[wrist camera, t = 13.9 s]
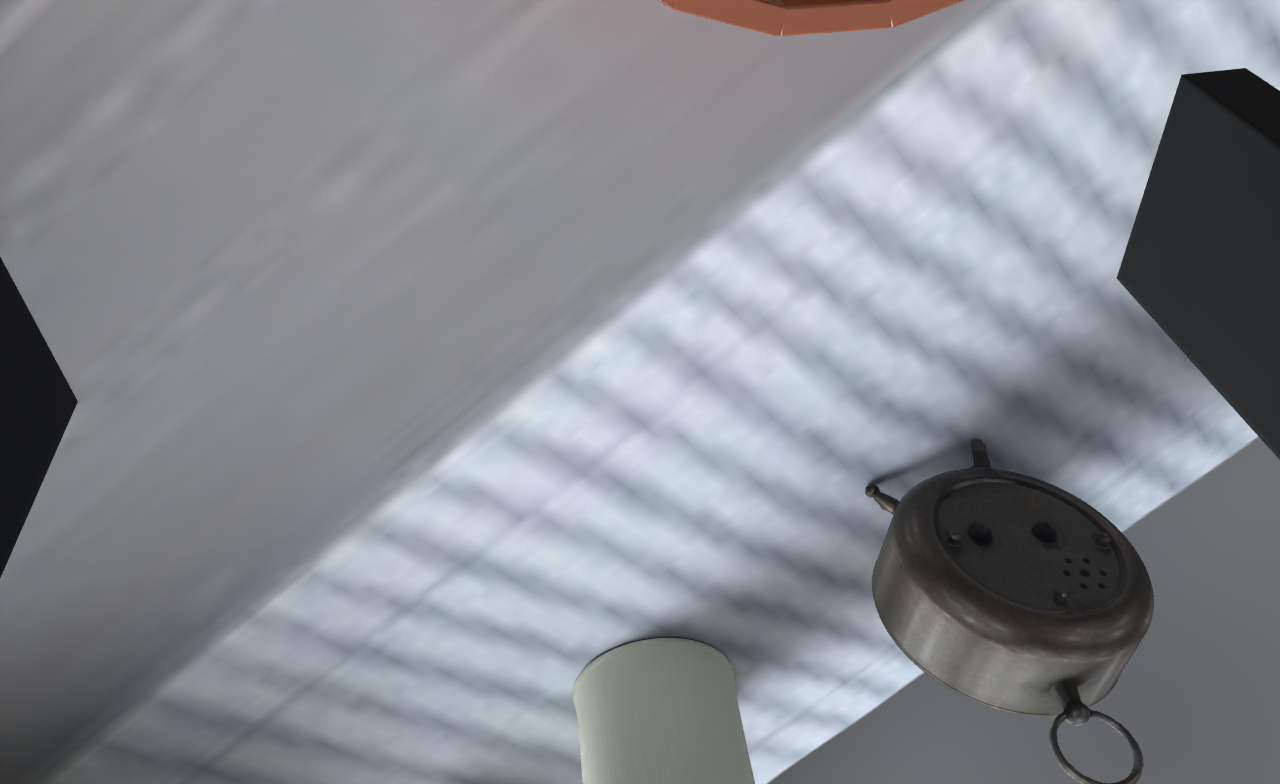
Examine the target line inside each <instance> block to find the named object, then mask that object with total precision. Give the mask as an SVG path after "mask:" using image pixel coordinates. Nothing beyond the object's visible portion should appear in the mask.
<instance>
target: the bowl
mask: <svg viewBox="0 0 1280 784" xmlns="http://www.w3.org/2000/svg"><path fill="white" fill-rule="evenodd" d="M658 1H660V2H661V3H663V4H664V5H666V6H667V7H671V8H672V9H673V10H677V11H681V12H685V13H688V14H692V15H696V16H700V17H704V18H708V19H712V20H716V21H720V22H724V23H727V24H731V25H735V26H739V27H743V28H747V29H751V30H755V31H759V32H763V33H766V34H770V35H774V36H779V35H781V36H790V35H803V34H817V33H830V32H843V31H856V30H870V29H883V28H890V27H892V28H894V27H896V26H899V25H902V24H904V23H907V22H909V21H912V20H914V19H917V18H920V17H922V16H925V15H927V14H930V13H932V12H935V11H938V10H940V9H943V8H945V7H948V6H950V5H953V4H956V3H958V2H961V1H963V0H658Z"/></svg>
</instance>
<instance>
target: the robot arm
mask: <svg viewBox="0 0 1280 784" xmlns="http://www.w3.org/2000/svg"><path fill="white" fill-rule="evenodd" d="M1117 279H1118V280H1119V281H1120V283H1121V284H1122V285H1123V286H1124V287H1125V288H1126V289H1127V290H1128V291H1129V293H1130V294H1131V295H1132V296H1133V297H1134V298H1135V299H1136V300H1137V302H1138V303H1139V304H1140V305H1141V306H1142V307H1143V308H1144V309H1145V310H1146V312H1147V313H1148V314H1149V315H1150V316H1151V317H1152V318H1153V319H1154V320H1155V322H1156V323H1157V324H1158V325H1159V326H1160V327H1161V328H1162V329H1163V330H1164V332H1165V333H1166V334H1167V335H1168V336H1169V337H1170V338H1171V339H1172V340H1173V342H1174V343H1175V344H1176V345H1177V346H1178V347H1179V348H1180V349H1181V350H1182V352H1183V353H1184V354H1185V355H1186V356H1187V357H1188V358H1189V359H1190V360H1191V362H1192V363H1193V364H1194V365H1195V366H1196V367H1197V368H1198V369H1199V370H1200V372H1201V373H1202V374H1203V375H1204V376H1205V377H1206V378H1207V379H1208V380H1209V382H1210V383H1211V384H1212V385H1213V386H1214V387H1215V388H1216V389H1217V390H1218V392H1219V393H1220V394H1221V395H1222V396H1223V397H1224V398H1225V399H1226V400H1227V402H1228V403H1229V404H1230V405H1231V406H1232V407H1233V408H1234V409H1235V410H1236V412H1237V413H1238V414H1239V415H1240V416H1241V417H1242V418H1243V419H1244V421H1245V422H1246V423H1247V424H1248V425H1249V426H1250V427H1251V428H1252V429H1253V431H1254V432H1255V433H1256V434H1257V435H1258V436H1259V437H1260V438H1261V439H1262V440H1263V441H1264V443H1265V444H1266V445H1267V446H1268V447H1269V448H1270V449H1271V450H1272V451H1273V453H1274V454H1275V455H1276V456H1277V457H1278V458H1279V459H1280V91H1279V90H1278V89H1276V88H1275V87H1273V86H1272V85H1270V84H1269V83H1267V82H1266V81H1264V80H1263V79H1261V78H1260V77H1258V76H1257V75H1255V74H1254V73H1252V72H1251V71H1249V70H1248V69H1246V68H1243V69H1233V70H1223V71H1214V72H1204V73H1194V74H1184V75H1181V78H1180V82H1179V85H1178V88H1177V91H1176V94H1175V97H1174V100H1173V103H1172V107H1171V110H1170V113H1169V116H1168V119H1167V122H1166V125H1165V129H1164V132H1163V135H1162V138H1161V141H1160V144H1159V147H1158V150H1157V154H1156V157H1155V160H1154V163H1153V166H1152V169H1151V172H1150V176H1149V179H1148V182H1147V185H1146V188H1145V191H1144V194H1143V197H1142V201H1141V204H1140V207H1139V210H1138V213H1137V216H1136V219H1135V223H1134V226H1133V229H1132V232H1131V235H1130V238H1129V241H1128V244H1127V248H1126V251H1125V254H1124V257H1123V260H1122V263H1121V266H1120V269H1119V273H1118V276H1117ZM77 402H78V401H77V399H76V397H75V395H74V393H73V392H72V390H71V388H70V386H69V384H68V382H67V380H66V378H65V377H64V375H63V373H62V371H61V369H60V367H59V365H58V364H57V362H56V360H55V358H54V356H53V354H52V352H51V351H50V349H49V347H48V345H47V343H46V341H45V339H44V337H43V336H42V334H41V332H40V330H39V328H38V326H37V324H36V323H35V321H34V319H33V317H32V315H31V313H30V311H29V310H28V308H27V306H26V304H25V302H24V300H23V298H22V296H21V295H20V293H19V291H18V289H17V287H16V285H15V283H14V282H13V280H12V278H11V276H10V274H9V272H8V270H7V268H6V267H5V265H4V263H3V261H2V259H1V257H0V577H1V575H2V573H3V571H4V568H5V566H6V564H7V562H8V559H9V557H10V555H11V552H12V550H13V548H14V546H15V543H16V541H17V539H18V536H19V534H20V532H21V530H22V527H23V525H24V523H25V521H26V518H27V516H28V514H29V511H30V509H31V507H32V505H33V502H34V500H35V498H36V495H37V493H38V491H39V489H40V486H41V484H42V482H43V480H44V477H45V475H46V473H47V470H48V468H49V466H50V464H51V461H52V459H53V457H54V455H55V452H56V450H57V448H58V445H59V443H60V441H61V439H62V436H63V434H64V432H65V429H66V427H67V425H68V423H69V420H70V418H71V416H72V414H73V411H74V409H75V407H76V404H77Z"/></svg>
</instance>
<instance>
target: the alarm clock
mask: <svg viewBox="0 0 1280 784" xmlns="http://www.w3.org/2000/svg"><path fill="white" fill-rule="evenodd" d="M971 448H972V453H973V459H974V466H973V467H971V468H969V469H961V470H954V471H949V472H945V473H941V474H938V475H936V476H933V477H931V478H928V479H926V480H924V481H923V482H921V483H919V484H918V485H916V486H915V487H914V488H912V489H911V490H910V491H909V492H908V493H907V494H906V495H905V496H904V497H903V498H902V499H901V501H898V500H897V499H895V498H893V497H891V496H889V495H886V494H884V493H881V492H880V490H879V488H878V487H877V486H876V485H874V484H869V485H868V486H867V487H866V492H865V493H866V495H867V496H868V497H873V498H874V499H875V501H876V502H877V503H878V504H879V505H880V506H881V508H882V509H884V510H886V511H888V512H890V513H892V514H893V518H892V521H891V523H890V526H889V529H888V531H887V534H886V537H885V540H884V543H883V545H882V548H881V551H880V553H879V556H878V559H877V560H876V563H875V567H874V570H873V575H872V590H873V597H874V601H875V605H876V608H877V611H878V613H879V616H880V619H881V621H882V623H883V625H884V626H885V628H886V630H887V632H888V633H889V634H890V636H891V637H892V639H893V640H894V642H895V643H896V644H897V646H898V647H899V648H900V649H901V650H902V651H903V652H904V654H905V655H906V656H907V657H908V658H909V659H910V660H911V661H913V662H914V663H915V664H916V665H917V666H918V667H919V668H920V669H922V670H923V671H924V672H925V673H926V674H928V675H929V676H931V677H932V678H934V679H935V680H936V681H938V682H939V683H941V684H942V685H944V686H945V687H947V688H949V689H950V690H952V691H954V692H956V693H958V694H960V695H962V696H964V697H966V698H968V699H970V700H972V701H975V702H977V703H979V704H982V705H985V706H988V707H990V708H993V709H997V710H1000V711H1004V712H1008V713H1013V714H1019V715H1027V716H1039V717H1046V716H1050V717H1053V716H1057V717H1056V719H1055V720H1054V722H1053V725H1052V728H1051V730H1050V735H1049V739H1050V744H1051V749H1052V752H1053V754H1054V757H1055V758H1056V760H1057V762H1058V763H1059V765H1060V766H1061V767H1062V768H1063V770H1064V771H1065V772H1066V773H1067V774H1068V775H1070V776H1071V777H1072V778H1074V779H1075V780H1076V781H1078V782H1079V783H1081V784H1109V783H1101V782H1098V781H1095V780H1093V779H1091V778H1089V777H1086V776H1084V775H1082V774H1081V773H1079V772H1078V771H1077V770H1076V769H1075V768H1074V767H1073V766H1072V765H1071V764H1070V763H1068V762H1067V760H1066V759H1065V758H1064V756H1063V754H1062V753H1061V751H1060V749H1059V746H1058V742H1057V730H1058V728H1059V726H1060V724H1061V723H1062V722H1063V721H1064V720H1066V721H1067V722H1068V723H1070V724H1071V725H1075V726H1080V725H1083V724H1085V723H1086V722H1087V721H1088V719H1089V717H1093V718H1096V719H1099V720H1102V721H1104V722H1105V723H1107V724H1109V725H1111V726H1112V727H1113V728H1115V729H1116V730H1117V731H1118V732H1119V733H1120V734H1121V735H1122V736H1123V737H1124V738H1125V739H1126V740H1127V742H1128V743H1129V745H1130V747H1131V749H1132V751H1133V754H1134V767H1133V769H1132V772H1131V774H1130V775H1129V776H1128V777H1127V778H1126V779H1124V780H1122V781H1120V782H1117V783H1110V784H1136V783H1137V781H1138V780H1139V778H1140V776H1141V774H1142V770H1143V766H1144V763H1143V756H1142V753H1141V750H1140V748H1139V746H1138V744H1137V743H1136V741H1135V739H1134V738H1133V737H1132V735H1131V734H1130V733H1129V731H1128V730H1126V729H1125V728H1124V727H1123V726H1122V725H1121V724H1120V723H1118V722H1117V721H1115V720H1114V719H1112V718H1111V717H1109V716H1107V715H1105V714H1103V713H1100V712H1097V711H1092V710H1090V709H1089V707H1091V706H1093V705H1095V704H1096V703H1098V702H1099V701H1101V700H1102V699H1103V698H1104V697H1106V696H1107V695H1108V693H1109V692H1110V691H1111V690H1112V689H1113V687H1114V686H1115V684H1116V683H1117V681H1118V678H1119V676H1120V674H1121V672H1122V670H1123V669H1124V667H1125V666H1126V664H1127V663H1128V661H1129V660H1130V658H1131V656H1132V655H1133V653H1134V652H1135V650H1136V649H1137V647H1138V645H1139V644H1140V642H1141V640H1142V638H1143V637H1144V635H1145V634H1146V632H1147V630H1148V627H1149V625H1150V623H1151V620H1152V616H1153V609H1154V595H1153V588H1152V585H1151V581H1150V578H1149V575H1148V572H1147V570H1146V567H1145V565H1144V563H1143V562H1142V560H1141V558H1140V556H1139V555H1138V553H1137V552H1136V550H1135V549H1134V547H1133V546H1132V545H1131V543H1130V542H1129V541H1128V540H1127V538H1126V537H1125V536H1124V535H1123V534H1122V533H1121V532H1120V531H1119V530H1118V529H1117V527H1116V526H1115V525H1114V524H1112V523H1111V522H1110V521H1109V520H1108V519H1107V518H1106V517H1104V516H1103V515H1102V514H1101V513H1099V512H1098V511H1097V510H1095V509H1094V508H1093V507H1091V506H1090V505H1088V504H1087V503H1085V502H1084V501H1082V500H1081V499H1079V498H1077V497H1076V496H1074V495H1072V494H1070V493H1068V492H1066V491H1064V490H1062V489H1060V488H1058V487H1056V486H1054V485H1051V484H1049V483H1046V482H1044V481H1041V480H1038V479H1035V478H1032V477H1029V476H1025V475H1022V474H1018V473H1013V472H1009V471H1003V470H997V469H993V468H991V465H990V461H989V459H988V455H987V452H986V447H985V445H984V443H983V442H982V440H980V439H974V440H973V441H972V442H971Z"/></svg>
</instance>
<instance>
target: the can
mask: <svg viewBox="0 0 1280 784" xmlns="http://www.w3.org/2000/svg"><path fill="white" fill-rule="evenodd" d="M573 702H574V706H575V709H576V713H577V721H578V730H579V741H580V753H581V764H582V777H583V784H755V782H754V777H753V772H752V768H751V763H750V759H749V754H748V749H747V745H746V740H745V735H744V731H743V726H742V721H741V716H740V711H739V706H738V701H737V695H736V689H735V673H734V670H733V667H732V665H731V663H730V662H729V660H728V659H727V658H726V657H725V656H724V655H723V654H722V653H721V652H719V651H718V650H717V649H715V648H713V647H711V646H709V645H706V644H704V643H701V642H697V641H694V640H688V639H681V638H655V639H647V640H641V641H637V642H632V643H629V644H626V645H623V646H620V647H617V648H615V649H613V650H611V651H608V652H606V653H605V654H603V655H601V656H599V657H598V658H597V659H595V660H594V661H592V662H591V663H590V664H589V665H588V666H587V667H586V668H585V669H584V670H583V671H582V672H581V674H580V675H579V677H578V678H577V680H576V682H575V685H574V689H573Z"/></svg>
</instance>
